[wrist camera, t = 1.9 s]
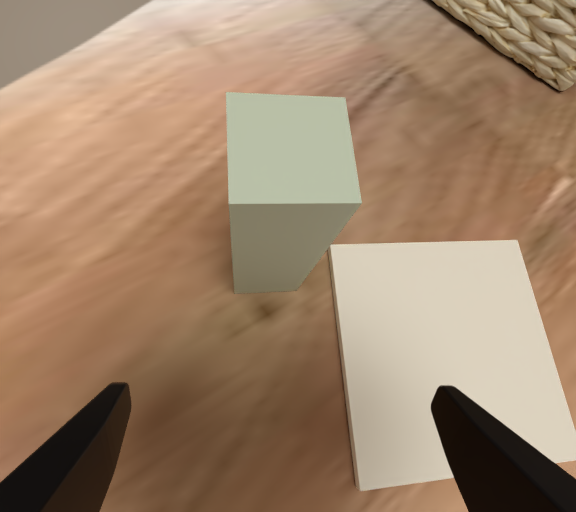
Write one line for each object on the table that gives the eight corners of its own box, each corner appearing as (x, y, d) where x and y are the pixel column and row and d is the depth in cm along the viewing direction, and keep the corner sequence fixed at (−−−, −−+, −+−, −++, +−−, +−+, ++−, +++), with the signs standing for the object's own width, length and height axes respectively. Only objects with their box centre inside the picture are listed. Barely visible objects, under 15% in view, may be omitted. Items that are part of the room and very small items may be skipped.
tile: (356, 486, 21) (360, 491, 20) (327, 248, 26) (330, 244, 25) (572, 456, 24) (583, 459, 23) (509, 243, 29) (517, 240, 28)
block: (234, 293, 24) (228, 203, 11) (232, 235, 25) (226, 92, 12) (296, 290, 25) (362, 203, 12) (291, 234, 26) (345, 97, 13)
